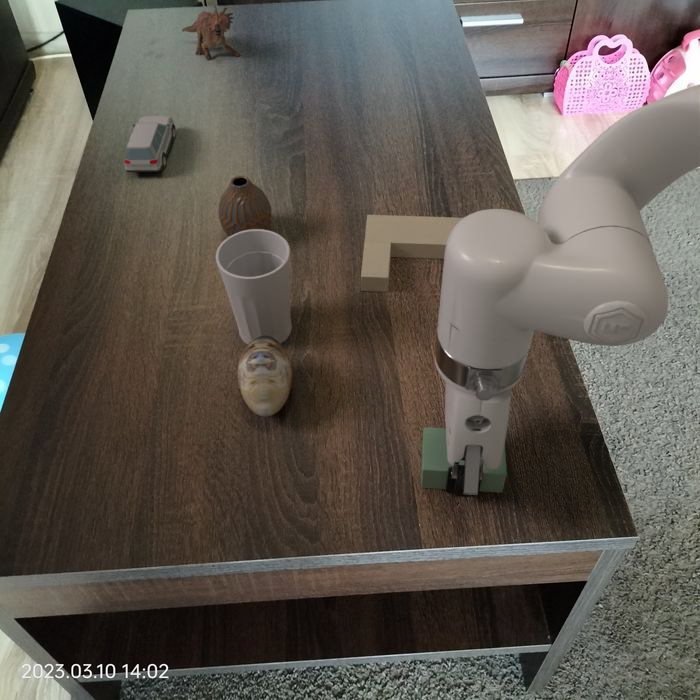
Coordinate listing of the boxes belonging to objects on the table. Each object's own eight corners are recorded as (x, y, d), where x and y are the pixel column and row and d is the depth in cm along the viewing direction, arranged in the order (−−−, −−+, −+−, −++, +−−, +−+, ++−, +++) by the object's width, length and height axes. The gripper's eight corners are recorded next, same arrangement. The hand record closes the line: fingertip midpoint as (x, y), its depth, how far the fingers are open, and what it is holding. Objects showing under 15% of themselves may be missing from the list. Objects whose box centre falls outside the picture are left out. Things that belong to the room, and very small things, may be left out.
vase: (252, 211, 102) (244, 158, 95) (284, 234, 98) (278, 180, 92) (213, 234, 99) (201, 181, 92) (245, 258, 95) (235, 205, 89)
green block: (499, 450, 75) (504, 431, 72) (502, 493, 72) (507, 474, 69) (421, 446, 76) (423, 426, 73) (420, 488, 72) (422, 469, 70)
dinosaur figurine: (250, 60, 130) (243, 7, 123) (223, 71, 127) (214, 19, 120) (207, 34, 137) (198, -17, 130) (180, 45, 134) (170, -7, 127)
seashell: (295, 429, 77) (288, 382, 71) (241, 433, 77) (230, 386, 71) (293, 361, 84) (287, 313, 78) (244, 364, 83) (233, 316, 77)
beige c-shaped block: (486, 233, 97) (488, 218, 96) (490, 296, 90) (492, 281, 88) (367, 229, 99) (367, 214, 97) (361, 291, 91) (360, 276, 89)
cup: (307, 341, 86) (299, 266, 76) (242, 361, 84) (226, 287, 75) (286, 297, 90) (276, 221, 81) (224, 315, 89) (207, 240, 80)
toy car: (179, 130, 116) (173, 101, 112) (163, 179, 107) (156, 150, 103) (144, 130, 116) (136, 102, 112) (125, 179, 107) (116, 150, 104)
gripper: (536, 438, 54) (503, 547, 68) (520, 279, 65) (494, 401, 79) (434, 432, 54) (422, 542, 68) (436, 275, 65) (425, 397, 79)
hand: (461, 465), depth 73 cm, fingers closed on green block, 5 cm apart
